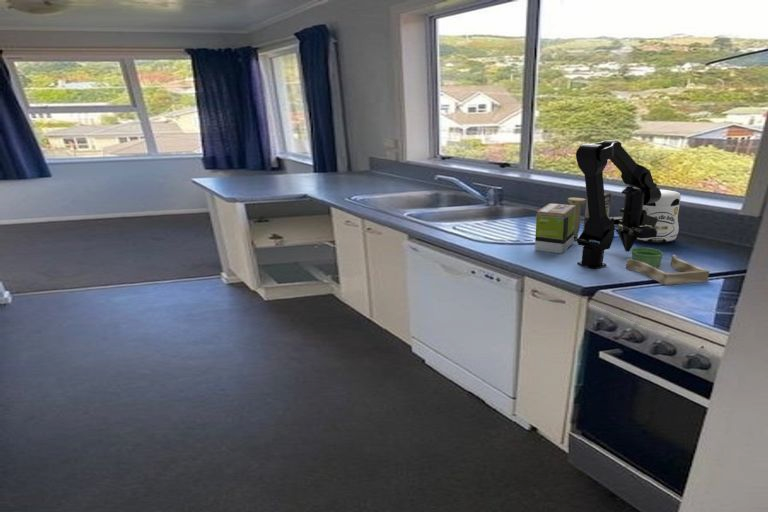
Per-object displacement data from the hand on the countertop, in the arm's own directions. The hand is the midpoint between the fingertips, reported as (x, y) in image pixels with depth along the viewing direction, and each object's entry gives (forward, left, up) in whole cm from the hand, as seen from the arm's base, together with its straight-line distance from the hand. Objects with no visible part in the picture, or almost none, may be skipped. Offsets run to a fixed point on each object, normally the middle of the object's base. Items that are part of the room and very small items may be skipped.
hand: (627, 251), depth 162 cm
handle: (+4, +26, -2) cm, 26 cm away
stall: (-7, -18, -1) cm, 19 cm away
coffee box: (+14, +24, -2) cm, 28 cm away
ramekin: (-3, -9, -2) cm, 10 cm away
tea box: (-12, +21, -2) cm, 24 cm away
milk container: (+23, +7, -2) cm, 24 cm away
